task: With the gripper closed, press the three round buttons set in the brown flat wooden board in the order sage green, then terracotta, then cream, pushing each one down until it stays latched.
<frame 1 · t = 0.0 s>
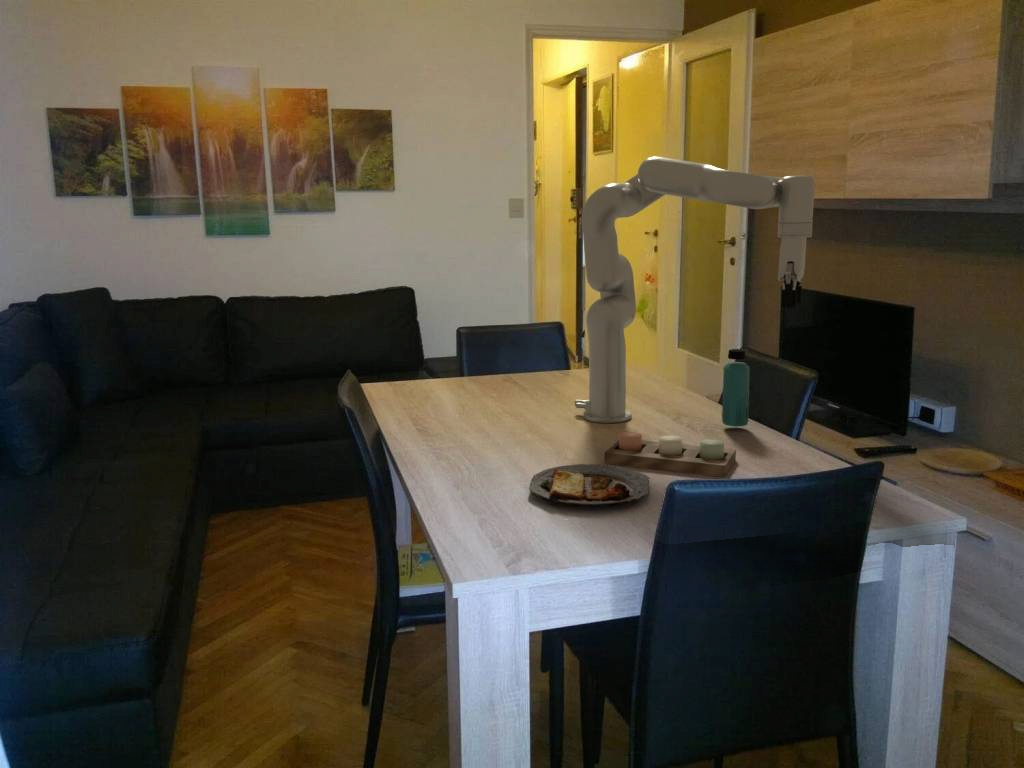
hand: (791, 304, 201), 31 cm above the table, tool pointing down, fingers open, 9 cm apart
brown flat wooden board: (670, 462, 187), on the table
terracotta button: (630, 442, 190), point 4 cm above the table, slide at 0.0 cm
cream button: (670, 446, 186), point 4 cm above the table, slide at 0.0 cm
beverage bottle: (734, 429, 212), on the table
sage button: (711, 450, 183), point 4 cm above the table, slide at 0.0 cm
food plate: (589, 493, 170), on the table
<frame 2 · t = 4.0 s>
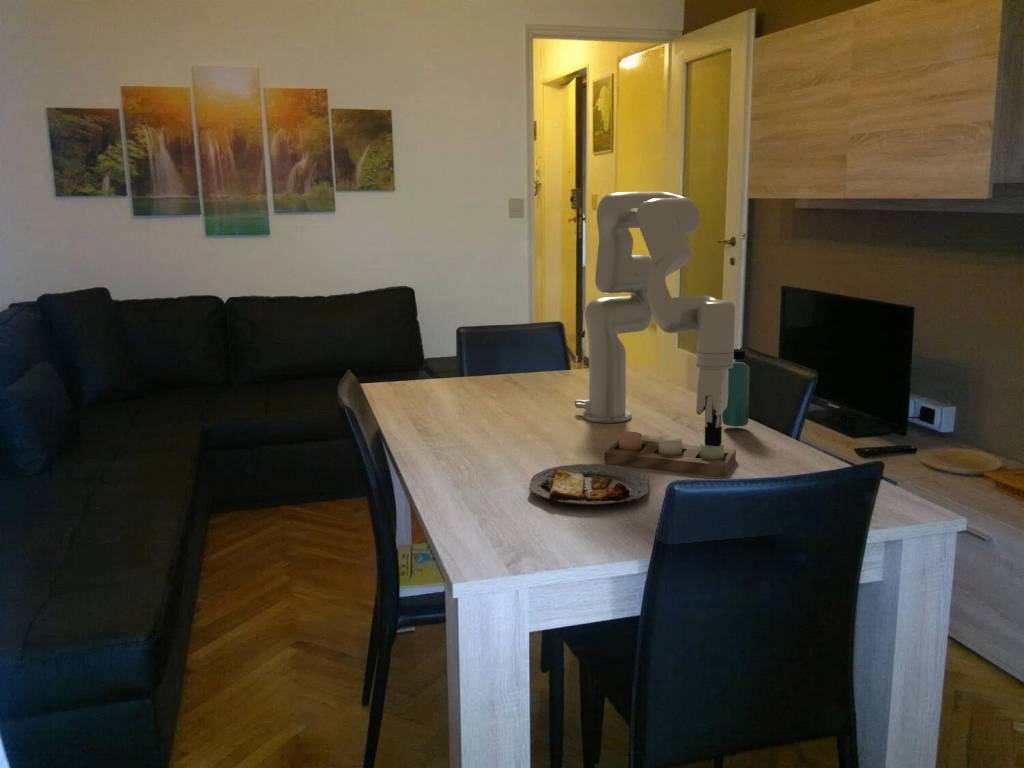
hand: (712, 444, 182), 5 cm above the table, tool pointing down, fingers closed
sage button: (711, 452, 183), point 3 cm above the table, slide at -0.4 cm, touching gripper
everything else where it was.
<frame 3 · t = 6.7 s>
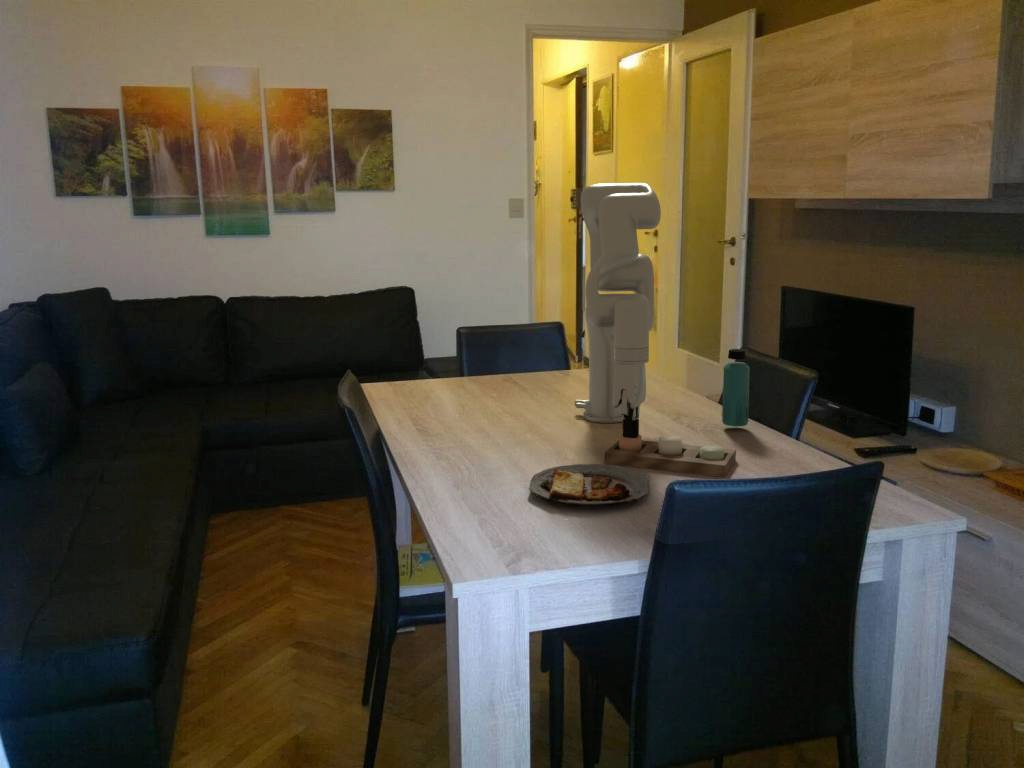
hand: (630, 436, 189), 5 cm above the table, tool pointing down, fingers closed
terracotta button: (630, 443, 190), point 3 cm above the table, slide at -0.4 cm, touching gripper
sage button: (711, 457, 183), point 2 cm above the table, slide at -1.4 cm
everything else where it was.
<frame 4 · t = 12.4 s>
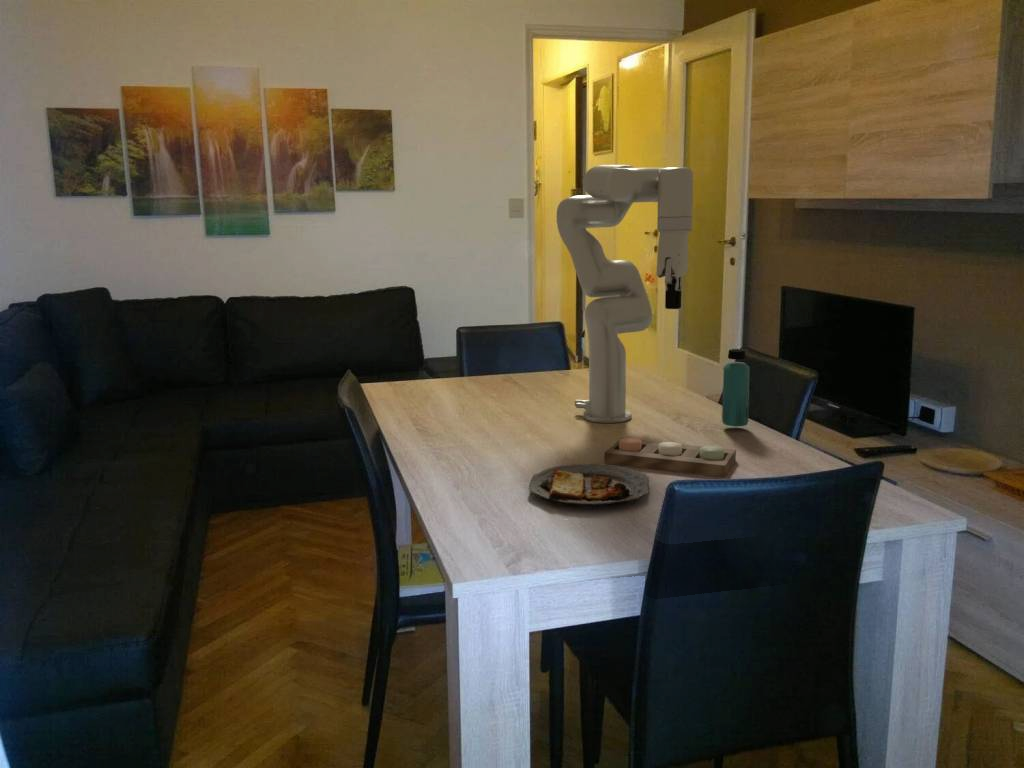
hand: (673, 308, 192), 32 cm above the table, tool pointing down, fingers closed
terracotta button: (630, 448, 190), point 2 cm above the table, slide at -1.5 cm
cream button: (670, 452, 187), point 2 cm above the table, slide at -1.5 cm
everything else where it was.
at the end: sage button slide at -1.4 cm; terracotta button slide at -1.5 cm; cream button slide at -1.5 cm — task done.
